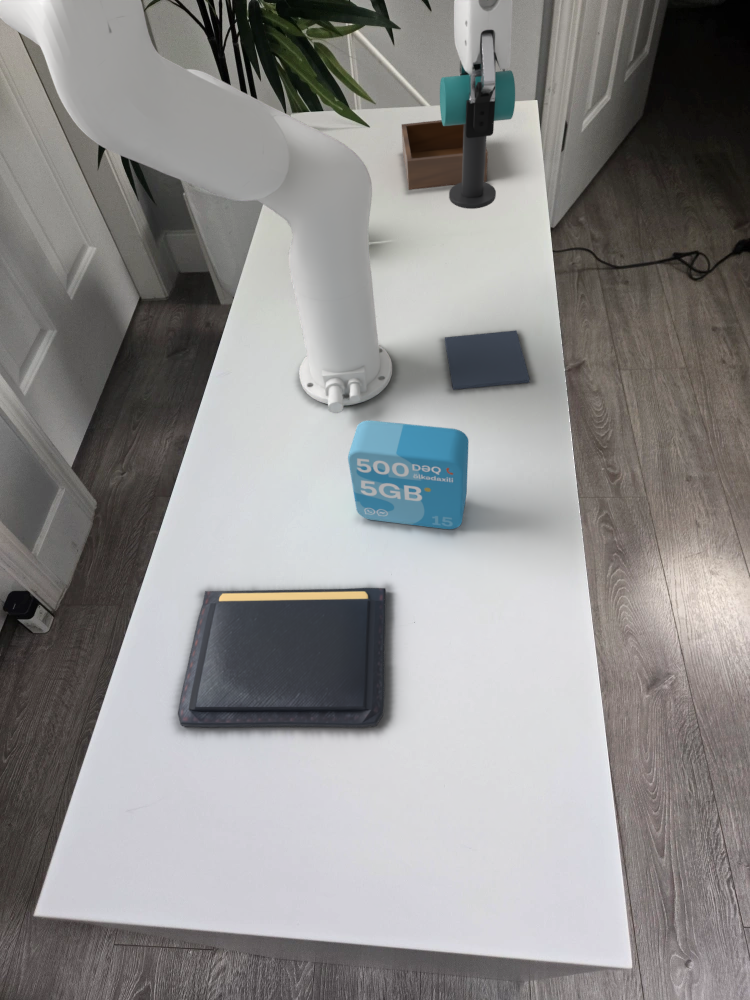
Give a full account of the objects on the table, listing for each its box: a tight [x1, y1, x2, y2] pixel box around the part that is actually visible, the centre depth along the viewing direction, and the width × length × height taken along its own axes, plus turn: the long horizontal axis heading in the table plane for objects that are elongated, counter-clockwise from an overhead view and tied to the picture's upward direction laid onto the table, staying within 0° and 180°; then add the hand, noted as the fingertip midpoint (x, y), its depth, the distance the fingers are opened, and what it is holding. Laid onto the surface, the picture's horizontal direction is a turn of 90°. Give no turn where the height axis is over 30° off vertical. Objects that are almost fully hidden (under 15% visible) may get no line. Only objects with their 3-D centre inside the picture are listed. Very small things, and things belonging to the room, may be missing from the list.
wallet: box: [177, 587, 387, 729], centre depth 71 cm, size 20×2×15 cm
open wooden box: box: [401, 119, 489, 191], centre depth 126 cm, size 14×14×6 cm
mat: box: [444, 329, 531, 391], centre depth 96 cm, size 10×10×1 cm
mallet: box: [439, 69, 516, 210], centre depth 87 cm, size 6×8×14 cm
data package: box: [347, 419, 469, 530], centre depth 77 cm, size 12×4×12 cm, turn 78°
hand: (475, 123), depth 85 cm, fingers closed on mallet, 5 cm apart
